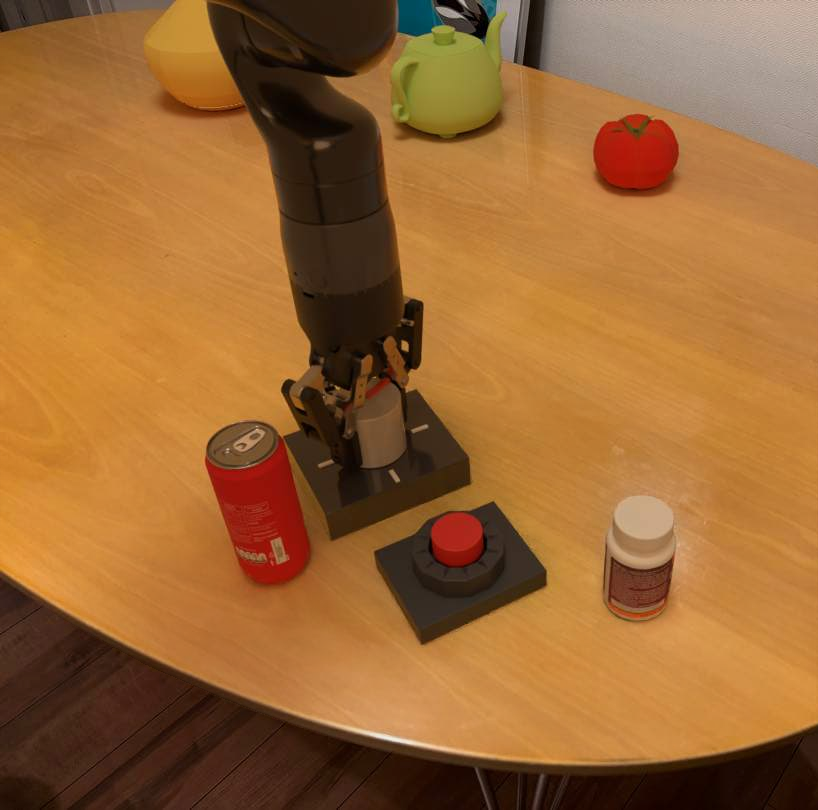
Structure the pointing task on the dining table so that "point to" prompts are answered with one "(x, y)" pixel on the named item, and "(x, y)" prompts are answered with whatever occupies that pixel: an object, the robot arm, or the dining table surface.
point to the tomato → (635, 151)
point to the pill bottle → (639, 558)
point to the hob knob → (380, 424)
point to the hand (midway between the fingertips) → (372, 441)
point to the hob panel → (380, 474)
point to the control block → (459, 575)
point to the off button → (457, 539)
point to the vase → (190, 58)
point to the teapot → (448, 80)
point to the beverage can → (258, 500)
